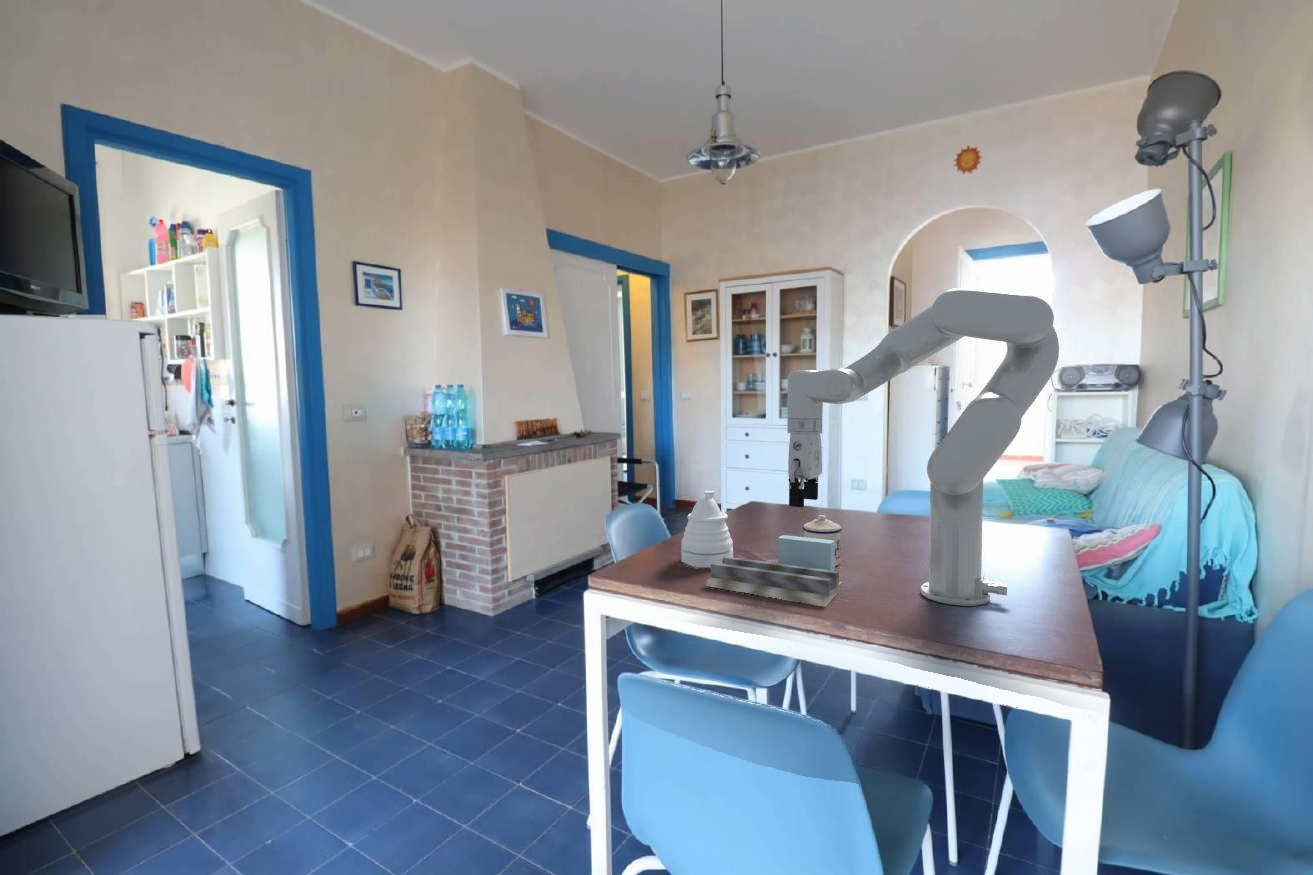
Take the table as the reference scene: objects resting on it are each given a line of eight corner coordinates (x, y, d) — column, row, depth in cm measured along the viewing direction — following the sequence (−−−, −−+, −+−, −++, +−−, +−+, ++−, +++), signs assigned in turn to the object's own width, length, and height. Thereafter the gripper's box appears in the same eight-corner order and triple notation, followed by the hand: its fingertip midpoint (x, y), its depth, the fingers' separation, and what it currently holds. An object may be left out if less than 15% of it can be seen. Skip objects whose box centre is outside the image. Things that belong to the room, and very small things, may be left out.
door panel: (834, 580, 137) (834, 540, 136) (831, 584, 134) (830, 543, 134) (783, 573, 143) (782, 534, 143) (778, 576, 141) (778, 537, 140)
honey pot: (742, 564, 151) (741, 491, 149) (694, 571, 146) (693, 496, 145) (718, 552, 163) (717, 484, 161) (673, 558, 158) (671, 488, 156)
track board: (841, 589, 131) (841, 568, 130) (825, 606, 121) (825, 584, 120) (729, 572, 144) (729, 553, 144) (706, 587, 134) (706, 566, 134)
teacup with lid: (843, 568, 145) (843, 519, 144) (803, 567, 147) (803, 519, 146) (839, 554, 157) (838, 509, 156) (802, 553, 159) (802, 509, 158)
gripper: (809, 429, 127) (807, 511, 128) (832, 424, 142) (831, 498, 143) (774, 428, 131) (773, 508, 132) (801, 423, 146) (800, 495, 147)
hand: (803, 502), depth 138 cm, fingers open, 9 cm apart
